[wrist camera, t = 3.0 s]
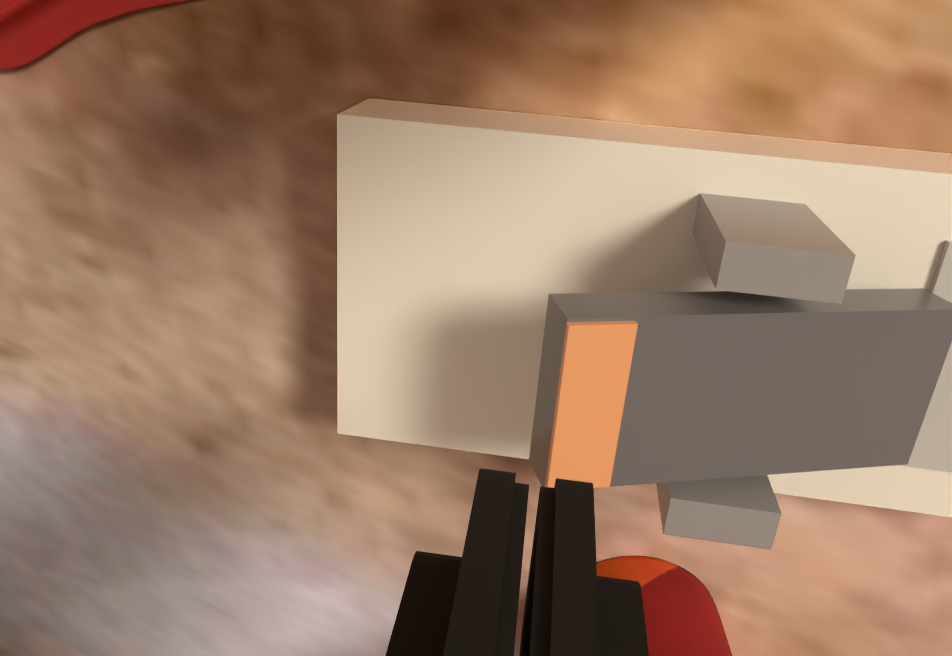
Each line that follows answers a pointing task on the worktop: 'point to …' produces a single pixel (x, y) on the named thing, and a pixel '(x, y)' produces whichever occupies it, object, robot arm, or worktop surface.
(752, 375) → the breaker paddle
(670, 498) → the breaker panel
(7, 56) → the cayenne pepper
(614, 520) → the worktop surface
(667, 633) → the paper cup
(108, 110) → the worktop surface
